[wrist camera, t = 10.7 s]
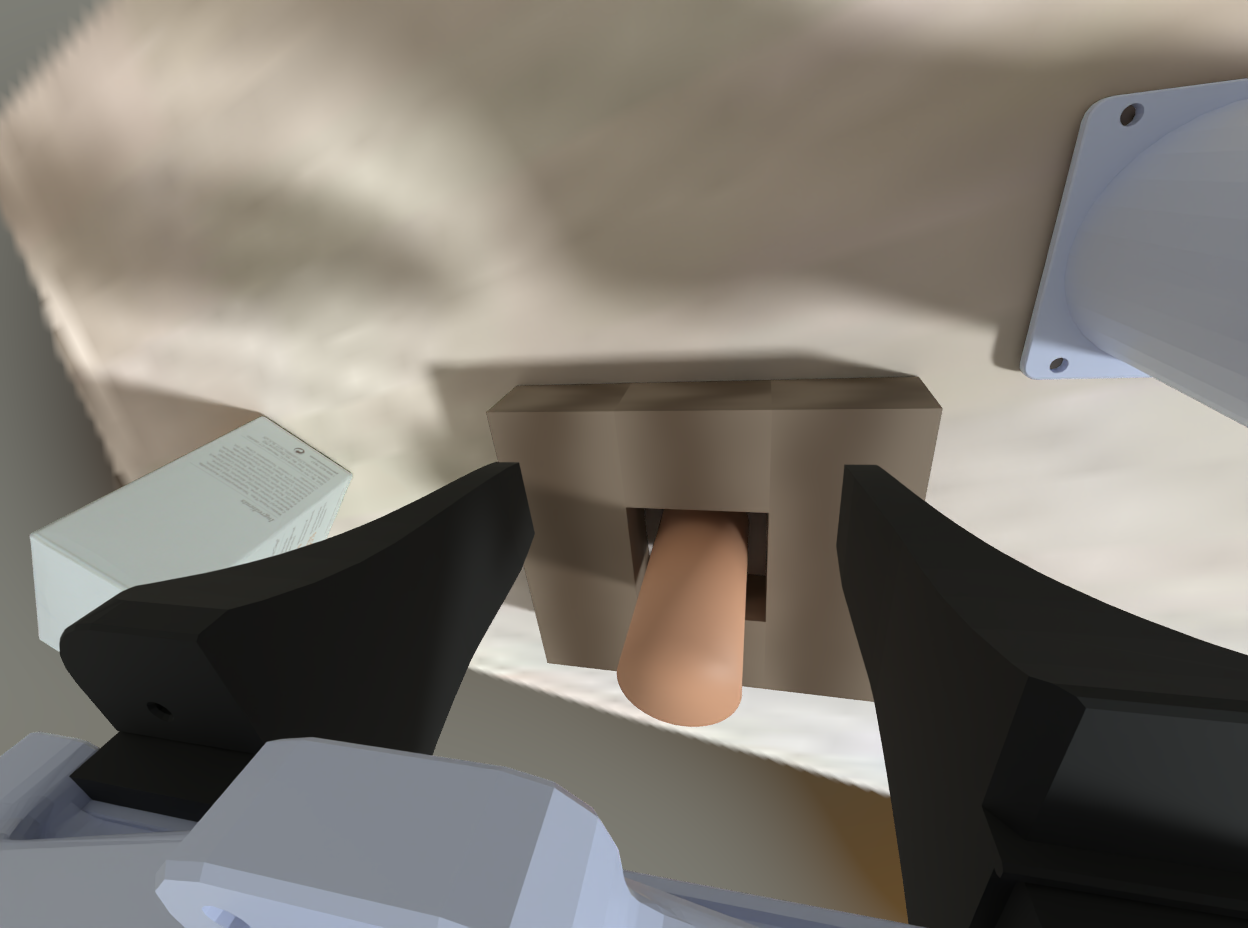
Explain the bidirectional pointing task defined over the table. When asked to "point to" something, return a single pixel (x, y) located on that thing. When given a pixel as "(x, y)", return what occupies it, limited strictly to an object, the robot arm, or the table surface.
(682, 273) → the table surface
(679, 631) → the peg
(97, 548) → the small box
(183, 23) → the table surface
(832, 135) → the table surface
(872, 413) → the socket block
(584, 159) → the table surface
